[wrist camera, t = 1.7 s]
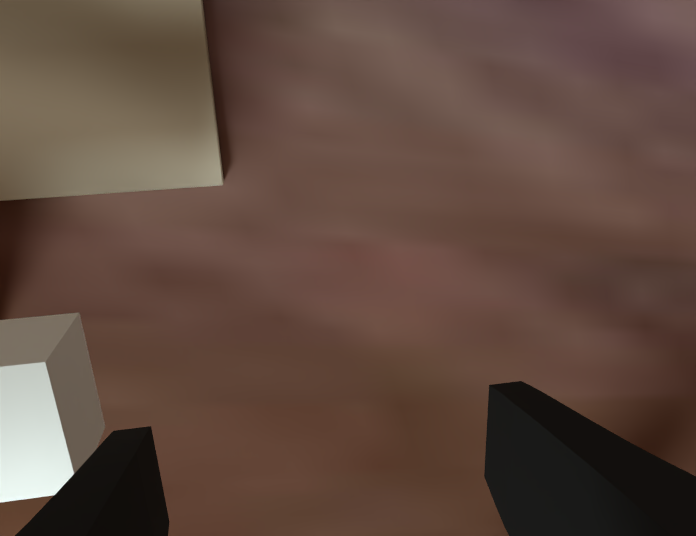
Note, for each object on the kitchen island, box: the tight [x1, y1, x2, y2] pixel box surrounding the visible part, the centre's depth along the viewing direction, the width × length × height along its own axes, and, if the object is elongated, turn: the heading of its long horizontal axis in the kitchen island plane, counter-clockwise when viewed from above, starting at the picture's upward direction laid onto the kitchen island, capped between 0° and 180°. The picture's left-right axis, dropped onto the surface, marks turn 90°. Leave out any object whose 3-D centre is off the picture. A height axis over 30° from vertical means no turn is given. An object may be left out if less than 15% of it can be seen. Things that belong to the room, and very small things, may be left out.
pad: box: [0, 0, 224, 201], centre depth 15 cm, size 10×10×1 cm
